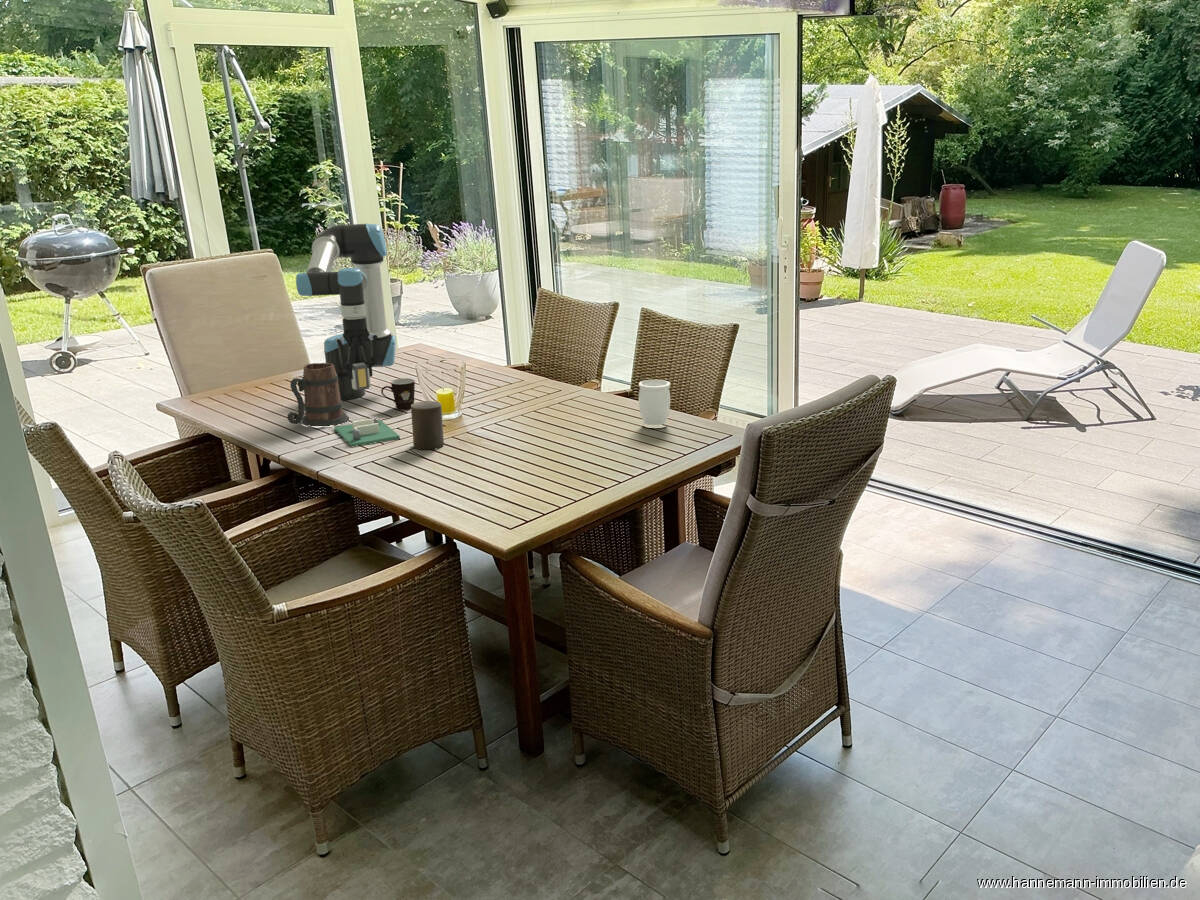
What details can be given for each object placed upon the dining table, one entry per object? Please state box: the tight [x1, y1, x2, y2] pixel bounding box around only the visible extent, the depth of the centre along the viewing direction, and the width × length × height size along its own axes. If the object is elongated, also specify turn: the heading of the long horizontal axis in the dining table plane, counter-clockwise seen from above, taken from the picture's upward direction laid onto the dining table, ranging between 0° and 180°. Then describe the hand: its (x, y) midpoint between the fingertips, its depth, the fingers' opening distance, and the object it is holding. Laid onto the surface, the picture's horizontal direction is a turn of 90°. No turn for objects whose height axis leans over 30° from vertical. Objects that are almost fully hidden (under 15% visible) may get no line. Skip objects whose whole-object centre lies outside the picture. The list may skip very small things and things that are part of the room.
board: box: [333, 418, 401, 447], centre depth 324 cm, size 22×16×4 cm
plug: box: [352, 363, 370, 390], centre depth 318 cm, size 4×4×8 cm
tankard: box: [287, 362, 350, 426], centre depth 335 cm, size 24×17×20 cm
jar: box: [638, 379, 671, 425], centre depth 324 cm, size 11×10×15 cm
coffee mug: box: [381, 377, 416, 411], centre depth 353 cm, size 12×9×10 cm
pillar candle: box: [410, 400, 445, 451], centre depth 310 cm, size 10×10×15 cm
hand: (361, 387), depth 320 cm, fingers closed on plug, 4 cm apart
